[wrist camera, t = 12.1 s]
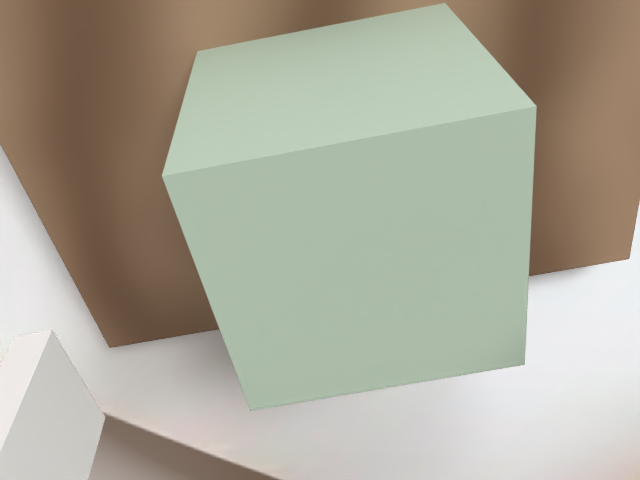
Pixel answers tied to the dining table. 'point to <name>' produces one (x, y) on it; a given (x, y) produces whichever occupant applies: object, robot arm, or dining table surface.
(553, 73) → the walnut board
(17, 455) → the robot arm
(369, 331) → the green cube
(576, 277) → the dining table surface
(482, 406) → the dining table surface
